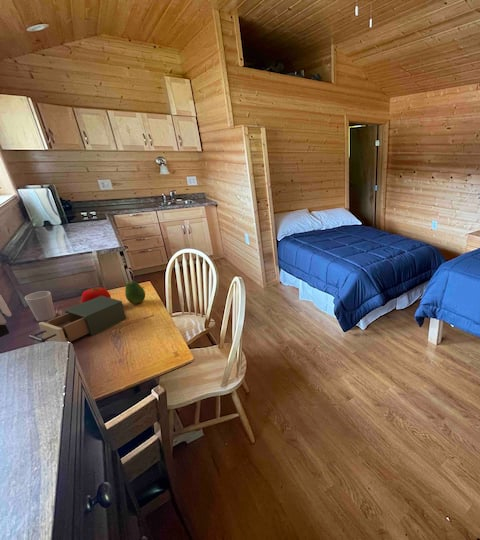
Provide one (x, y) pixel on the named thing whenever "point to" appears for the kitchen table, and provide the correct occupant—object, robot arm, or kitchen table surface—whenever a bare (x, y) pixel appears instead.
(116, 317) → the cabinet
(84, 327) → the drawer
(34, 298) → the cup
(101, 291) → the tomato
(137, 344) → the kitchen table surface
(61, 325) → the block
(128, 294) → the fruit
